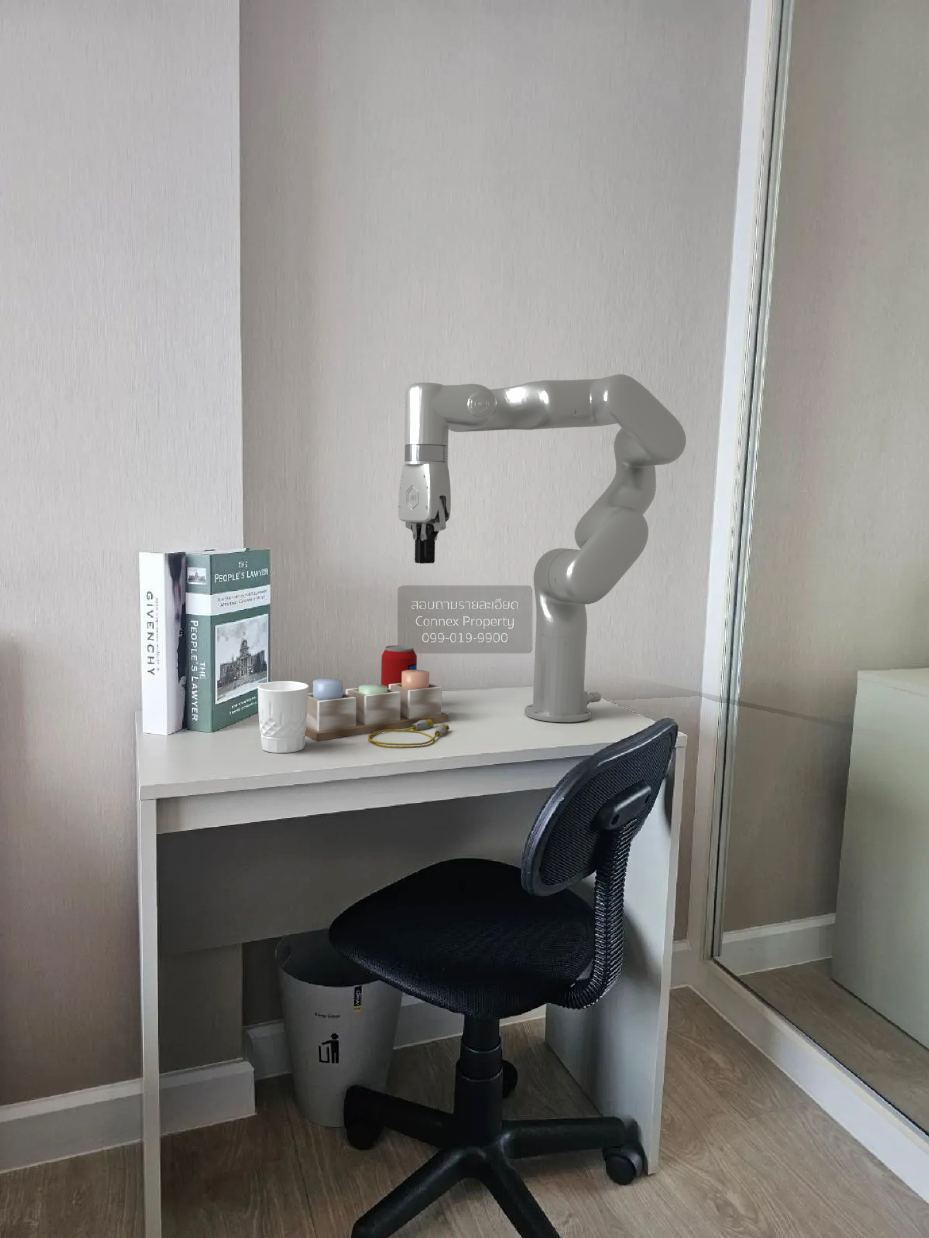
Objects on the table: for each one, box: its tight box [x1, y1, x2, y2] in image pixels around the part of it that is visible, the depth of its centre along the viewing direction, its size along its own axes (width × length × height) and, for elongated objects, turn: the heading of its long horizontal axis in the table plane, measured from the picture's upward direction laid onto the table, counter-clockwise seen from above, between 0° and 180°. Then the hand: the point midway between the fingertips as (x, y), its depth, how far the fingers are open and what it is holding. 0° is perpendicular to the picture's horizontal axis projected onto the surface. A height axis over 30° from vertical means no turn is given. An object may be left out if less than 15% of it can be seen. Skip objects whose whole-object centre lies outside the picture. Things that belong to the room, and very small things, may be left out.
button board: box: [305, 683, 450, 742], centre depth 158 cm, size 27×9×6 cm, turn 127°
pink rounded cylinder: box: [402, 669, 430, 690], centre depth 164 cm, size 5×5×5 cm
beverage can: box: [380, 644, 418, 688], centre depth 171 cm, size 7×7×12 cm
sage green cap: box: [358, 683, 387, 695], centre depth 158 cm, size 5×5×5 cm
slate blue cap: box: [312, 678, 344, 701], centre depth 153 cm, size 5×5×5 cm
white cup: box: [257, 680, 310, 754], centre depth 142 cm, size 8×8×10 cm
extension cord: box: [367, 719, 450, 749], centre depth 151 cm, size 12×16×2 cm
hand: (424, 562), depth 157 cm, fingers closed
